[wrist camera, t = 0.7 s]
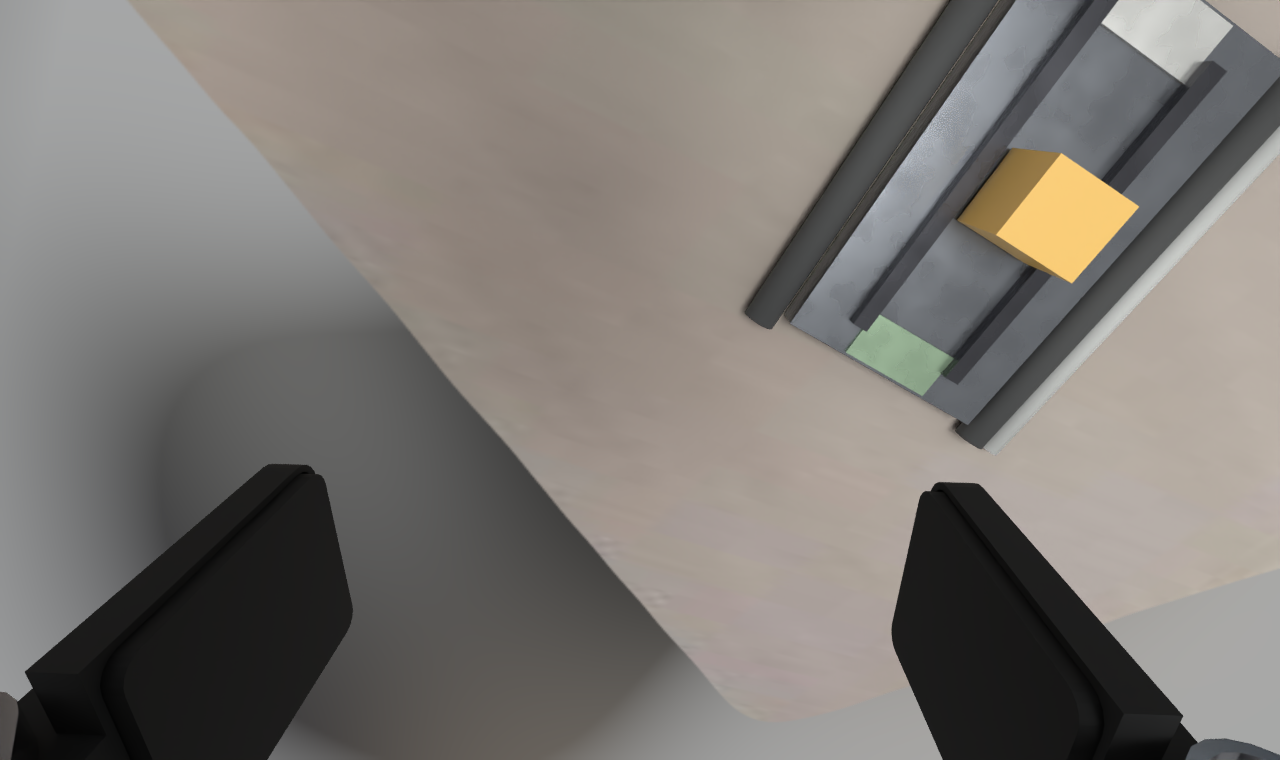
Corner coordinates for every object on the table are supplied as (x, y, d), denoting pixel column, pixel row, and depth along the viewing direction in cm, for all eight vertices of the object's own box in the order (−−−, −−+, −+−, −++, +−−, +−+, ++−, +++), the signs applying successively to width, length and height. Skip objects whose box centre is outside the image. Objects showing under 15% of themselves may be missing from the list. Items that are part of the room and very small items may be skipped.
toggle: (1012, 147, 33) (1061, 153, 29) (1081, 194, 34) (1139, 206, 30) (957, 220, 35) (996, 234, 31) (1025, 263, 36) (1071, 283, 31)
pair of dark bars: (1034, -135, 30) (1058, -151, 28) (1322, 90, 33) (1360, 89, 32) (743, 308, 40) (747, 317, 38) (989, 447, 43) (1004, 462, 41)
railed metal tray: (1057, -83, 31) (1093, -101, 28) (1254, 68, 33) (1304, 64, 31) (784, 313, 40) (792, 327, 37) (954, 411, 42) (973, 430, 39)
